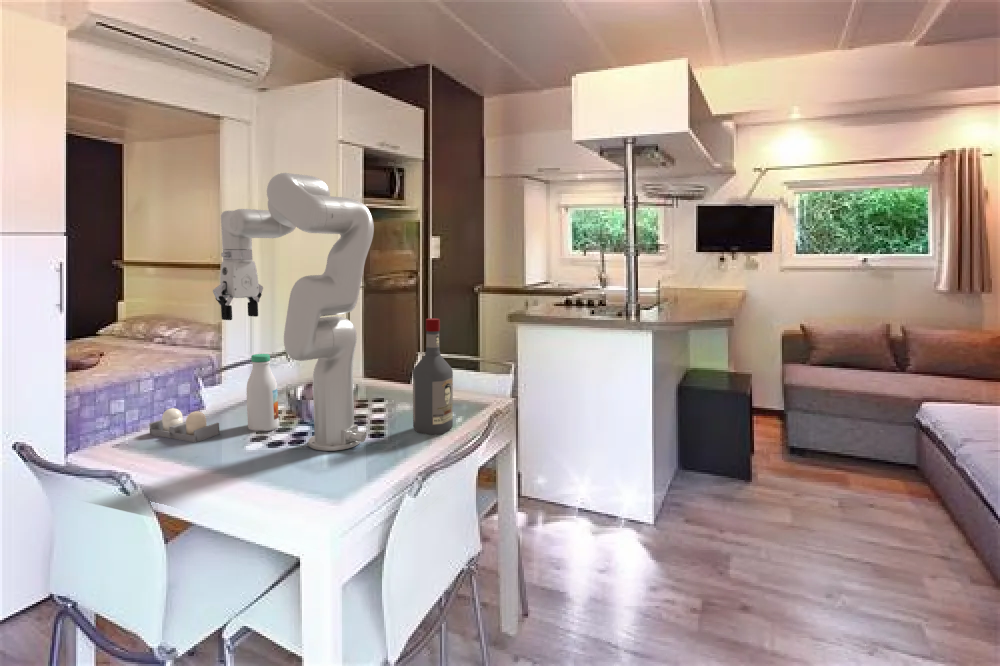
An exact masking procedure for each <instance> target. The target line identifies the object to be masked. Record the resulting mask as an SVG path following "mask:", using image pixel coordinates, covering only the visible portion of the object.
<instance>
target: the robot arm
mask: <svg viewBox="0 0 1000 666" xmlns="http://www.w3.org/2000/svg"><path fill="white" fill-rule="evenodd" d="M266 186H267V188H266V197H267V209H268V210H267V209H255V208H254V209H252V208H251V209H250V208H249V209H248V208H238V209H235V210H225V211H223V212H221V215H220V224H221V225H220V226H221V230H220V231H221V248H222V251H221V253H220V255H221V257H222V261H221V266H220V272H219V273H220V275H219V276H220V279H219V285H218V286H217V287H215V288H213V289H212V293H213V295H214V297H215V300H216V301H217V302H218V305H219V306H220V310H221V311H220V314H221V315H220V316H221V320H222V321H232V320H233V306H232V305H231V303H232V301H233V300H234V299H245V298H246V299H247V300H248V302H247V315H248V317H255V318H257V317H259V303H260V301H261V300H260V298H261V297H262V295H263V294H262V293H263V291H264V287H263V285H261V284H260V283H259V277H258V276H259V275H258V270H257V266H256V263H255V261H254V260H253V242H252V239H278V238H281V237H284V236H287V235H288V234H290V233H292V232H294V230H296V228H297V229H299V230H301V231H302V232H305V233H309V234H327V235H329V234H330V235H332V234H333V235H339V236H340V237H339V239H338V240H336V242H335V243H334V244H333V245H332V247H331V249H330V250H329V252H328V255H327V257H326V265H325V269H324V272H323V273H322V274H318V275H317V274H312V275H306V276H302V277H300V278H298V279H297V280H296V281H295V283H294V284H293V286H292V288H291V291H290V293H289V298H288V306H287V311H286V317H285V325H284V332H283V346H284V350H285V352H286V354H287V356H288V357H289V358H290V359H293V360H294V361H299V362H300V361H301V362H302V361H303V362H304V361H305V362H307V361H312V360H316V359H317V360H316V363H315V366H314V368H313V373H312V394H313V427H314V430H313V431H314V435H313V436H310V438H309V439H308V441H307V443H308V447H309V448H311V449H313V450H317V451H325V452H326V451H327V452H328V451H329V452H330V451H332V452H333V451H342V450H347V449H351V448H354V447H356V446H358V445H359V444H360V443H363V442H365V441H366V438H367V431H362V430H359V425H358V424H356V423H355V408H354V403H355V400H354V359H355V353H356V346H357V339H358V336H357V330H356V329H357V328H356V326H355V325H354V324H353V322H352V321H351V320H349V319H348V318H347V317H346V318H345V317H342V316H338V315H343V314H348V313H350V312H352V311H354V309H355V308H356V306H357V304H358V299H359V295H360V292H361V291H360V289H361V287H362V281H363V280H362V279H363V274H364V269H365V264H366V260H367V257H368V255H369V251H370V247H371V245H372V242H373V238H374V233H375V232H374V231H375V227H374V226H375V225H374V219H373V217H372V213H371V212H370V209H369V208H368V207H367V206H366V205H365V204H364V203H362V202H361V201H359V200H356V199H353V198H349V197H343V196H342V197H341V196H331V191H330V189H329V186H328V185H327V183H326V182H325V181H324V180H322V179H321V178H319V177H316V176H313V175H307V174H297V173H290V172H281V173H277V174H275V175H274V176H272V177H271V179H270V180H269V182H268V183H267V185H266Z"/></svg>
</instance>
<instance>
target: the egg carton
mask: <svg viewBox="0 0 1000 666" xmlns="http://www.w3.org/2000/svg"><path fill="white" fill-rule="evenodd" d="M148 425H149V426H148V427H149V435H150V436H155V437H161V438H168V439H173V440H179V441H186V442H191V443H199V442H200V441H204V440H206V439H211V438H212V437H215V436H219V435H220V423H219V422H216V423H211V424H209V425H207V426H206V427H203V428H200V429H197V430H194V436H193V435H187V434H186V421H183V423H180V424H177V425H173V426H170V432H169V431H163V423H162V419H159V420H156V421H153V422H150V423H148Z"/></svg>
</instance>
